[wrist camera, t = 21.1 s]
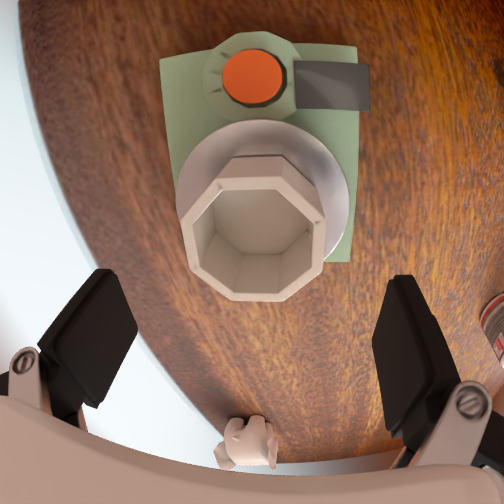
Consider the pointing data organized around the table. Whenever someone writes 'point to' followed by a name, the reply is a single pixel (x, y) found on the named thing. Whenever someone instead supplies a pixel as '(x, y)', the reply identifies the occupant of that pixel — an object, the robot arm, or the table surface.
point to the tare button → (252, 76)
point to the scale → (256, 105)
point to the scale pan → (288, 142)
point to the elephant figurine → (247, 444)
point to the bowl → (256, 230)
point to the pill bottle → (495, 326)
